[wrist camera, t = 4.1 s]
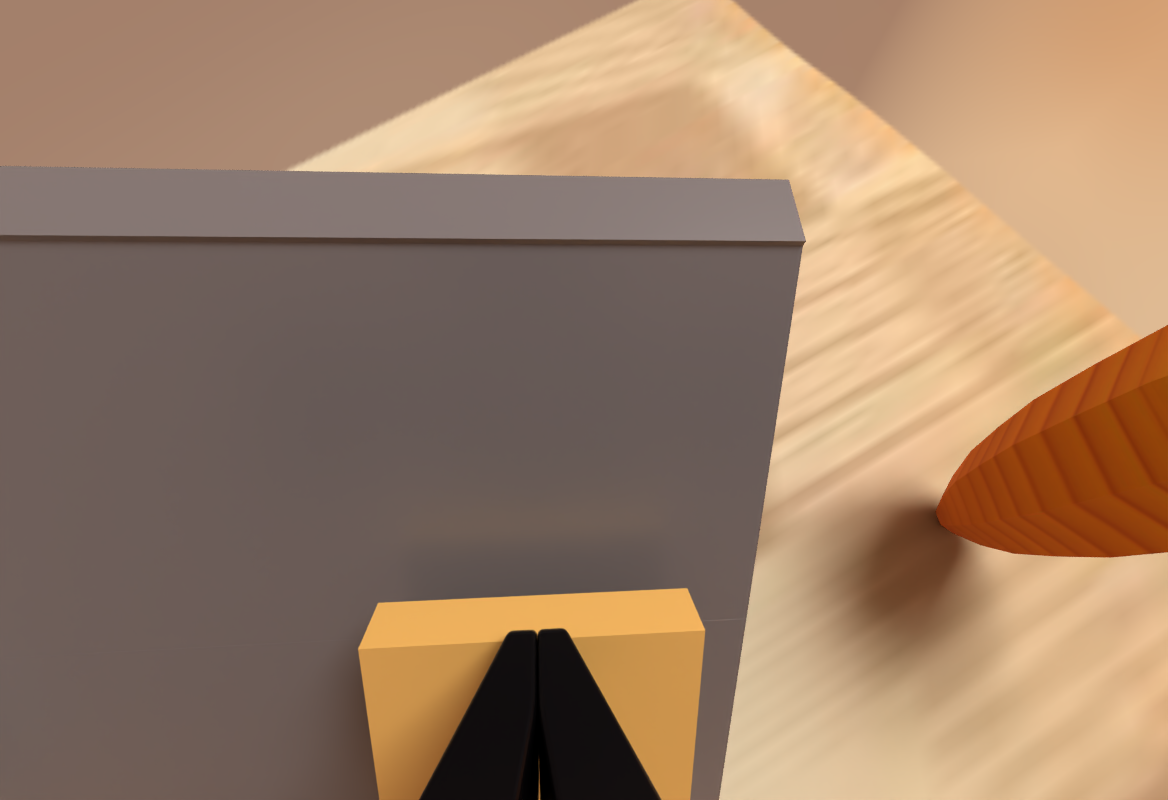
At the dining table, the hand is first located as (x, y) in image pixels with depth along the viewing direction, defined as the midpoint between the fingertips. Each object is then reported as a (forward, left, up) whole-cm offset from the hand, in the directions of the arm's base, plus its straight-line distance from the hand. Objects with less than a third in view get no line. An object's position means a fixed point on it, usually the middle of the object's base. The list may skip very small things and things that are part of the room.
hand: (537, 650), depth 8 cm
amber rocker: (-2, -1, -5) cm, 5 cm away
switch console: (-2, +7, -10) cm, 12 cm away
